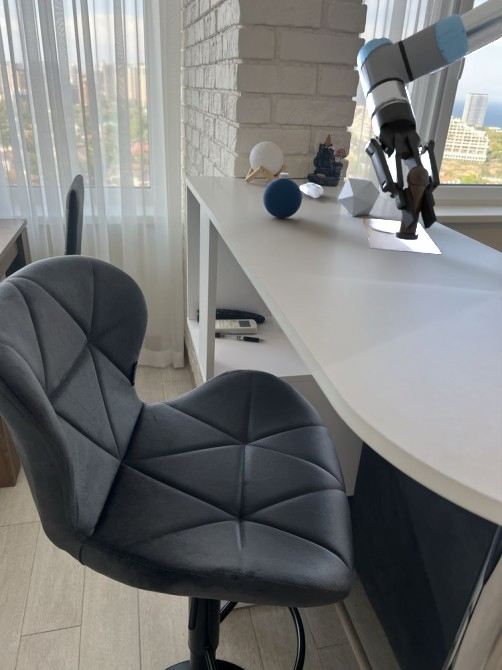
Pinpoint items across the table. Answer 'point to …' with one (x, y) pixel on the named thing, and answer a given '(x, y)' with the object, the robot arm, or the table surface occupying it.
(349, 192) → the die
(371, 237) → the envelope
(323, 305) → the table surface
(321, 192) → the pincushion
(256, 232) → the table surface
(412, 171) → the dot stamp
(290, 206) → the christmas ornament
